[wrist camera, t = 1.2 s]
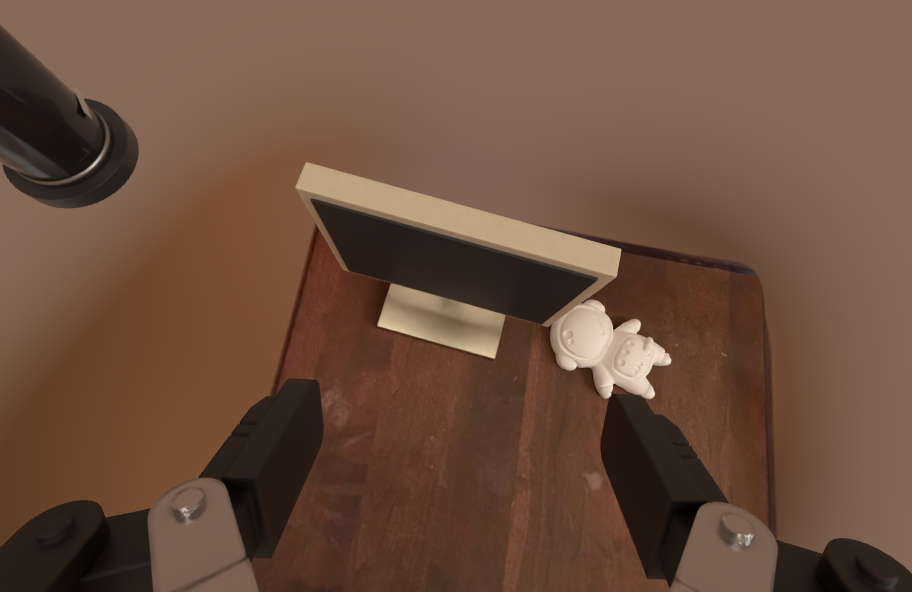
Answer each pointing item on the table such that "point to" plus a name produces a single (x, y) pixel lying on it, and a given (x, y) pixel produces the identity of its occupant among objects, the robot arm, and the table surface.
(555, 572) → the table surface
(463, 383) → the table surface
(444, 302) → the monitor stand
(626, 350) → the astronaut figurine
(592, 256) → the monitor screen
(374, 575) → the table surface
